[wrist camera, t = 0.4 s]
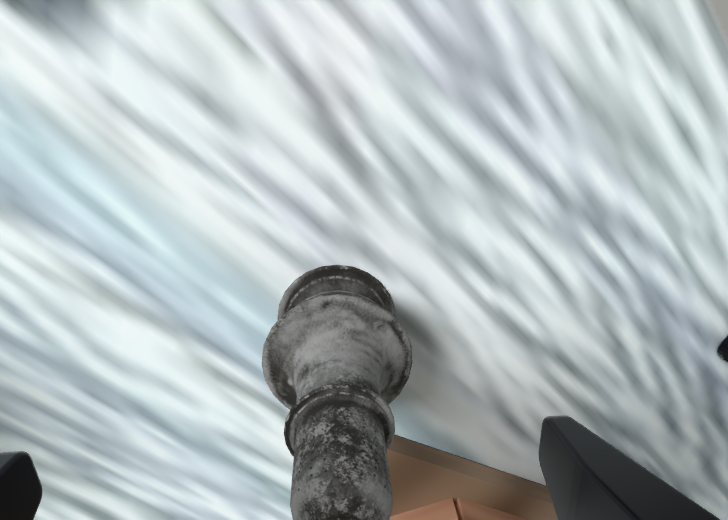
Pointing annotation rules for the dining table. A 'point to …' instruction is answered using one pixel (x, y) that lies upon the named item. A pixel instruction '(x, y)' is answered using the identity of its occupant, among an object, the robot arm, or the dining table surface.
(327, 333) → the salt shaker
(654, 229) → the dining table surface
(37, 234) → the dining table surface
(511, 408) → the dining table surface
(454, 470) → the collar board
